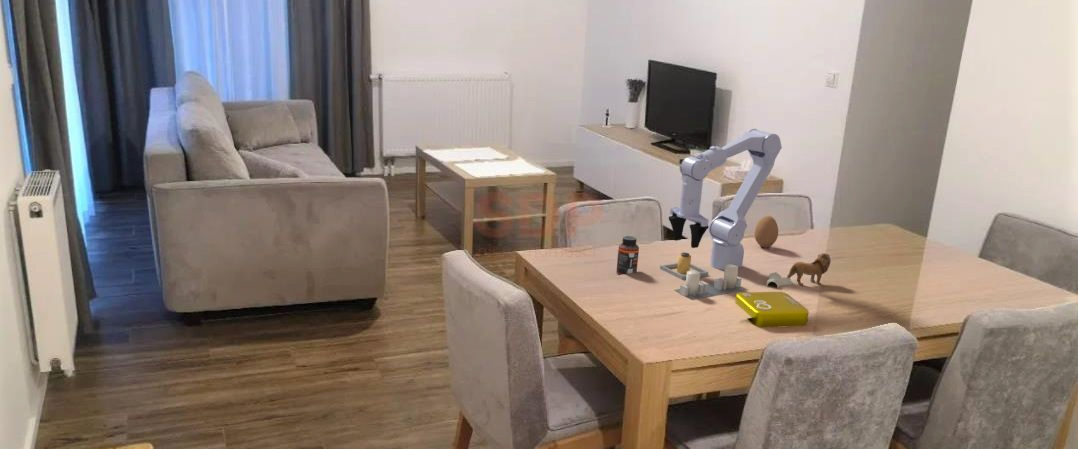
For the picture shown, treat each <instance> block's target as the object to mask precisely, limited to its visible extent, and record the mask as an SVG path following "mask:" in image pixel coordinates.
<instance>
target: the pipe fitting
mask: <svg viewBox="0 0 1078 449" xmlns="http://www.w3.org/2000/svg"><path fill="white" fill-rule="evenodd" d="M770 283H775V284H776V288H777V289H779V287H782V286H783V287H784V286H789V285H791V286H792V284H793V282H792V279H791V277H790V278H788V277H786V276H785V277H782V275H780V274H779V273H778V272H777V271H775V272H771V273H769V275H768V279H767V281H766V284H765V287H768V286H769V284H770Z"/></svg>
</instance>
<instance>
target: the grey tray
mask: <svg viewBox="0 0 1078 449" xmlns="http://www.w3.org/2000/svg"><path fill="white" fill-rule="evenodd" d="M677 267H678V262H676V263H675V262H674V263H668V264H661V265H660V266H659V269H660V270H662V271H664V272H665V273H667V274H669V275H671V276H674V277H675V278H678V279H680V280H686V275H687V274H680V273H678V272H677V271H675V270H673V268H677ZM690 269H692V270H693V271H697V272H700V277H706V276H709V271H708V270H706V269H703V268H702V267H699V266H697V265H695V264H693V263H690Z"/></svg>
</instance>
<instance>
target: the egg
mask: <svg viewBox="0 0 1078 449" xmlns="http://www.w3.org/2000/svg"><path fill="white" fill-rule="evenodd" d="M778 237H779V227H778V223H777V221H776V219H775V218H774V217H772V216H771V215H765V216H763V217H762V218H760V219H759V220H758V222H757V223H756V225H755V229H754V239H755V241H756V243H757V244H758V245H759V246H760V247H762V248H763V249H764V248H765V249H766V248H767V249H768V248H769V247H772V246H773V245H774V244H775V243H776V241H777V239H778Z"/></svg>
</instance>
